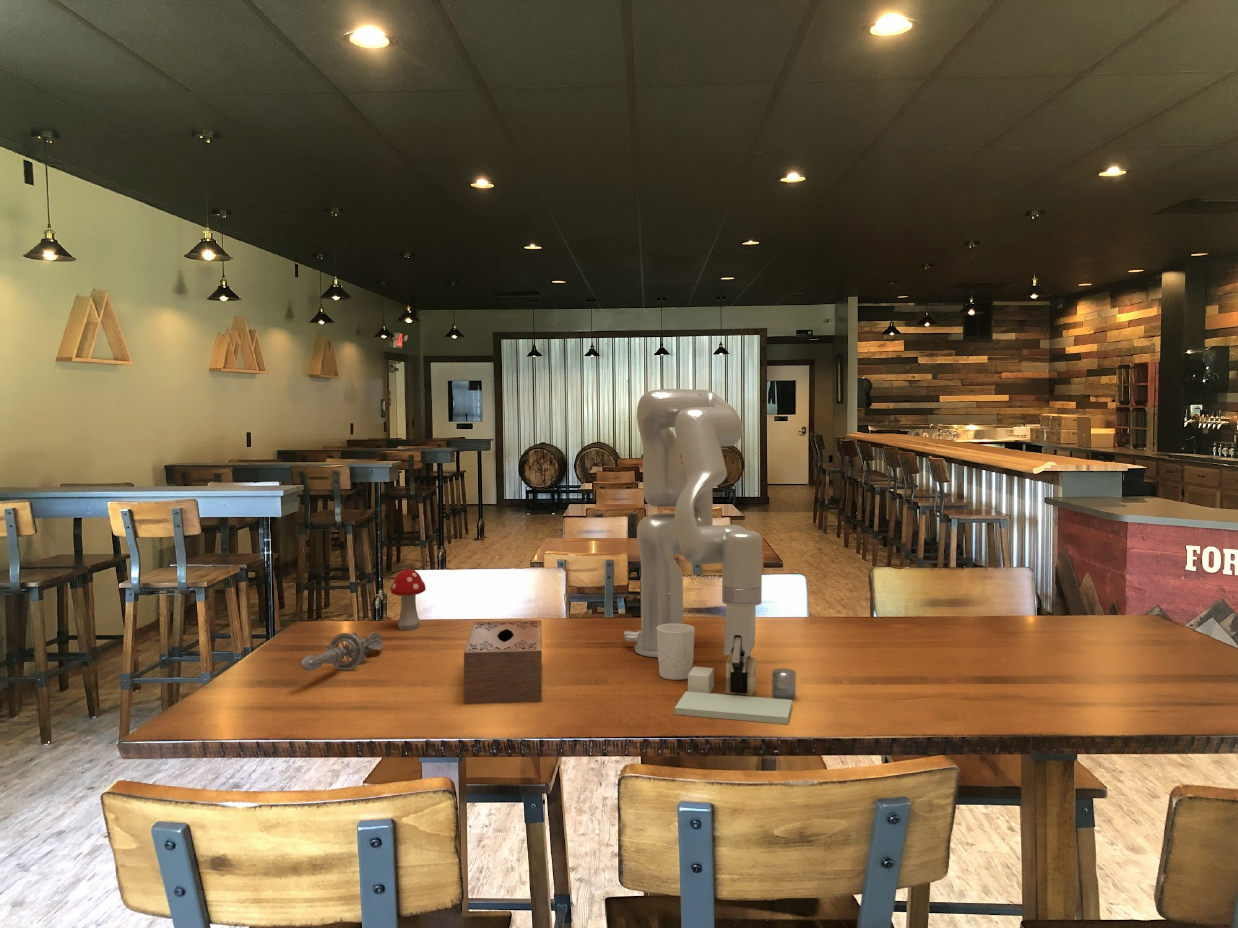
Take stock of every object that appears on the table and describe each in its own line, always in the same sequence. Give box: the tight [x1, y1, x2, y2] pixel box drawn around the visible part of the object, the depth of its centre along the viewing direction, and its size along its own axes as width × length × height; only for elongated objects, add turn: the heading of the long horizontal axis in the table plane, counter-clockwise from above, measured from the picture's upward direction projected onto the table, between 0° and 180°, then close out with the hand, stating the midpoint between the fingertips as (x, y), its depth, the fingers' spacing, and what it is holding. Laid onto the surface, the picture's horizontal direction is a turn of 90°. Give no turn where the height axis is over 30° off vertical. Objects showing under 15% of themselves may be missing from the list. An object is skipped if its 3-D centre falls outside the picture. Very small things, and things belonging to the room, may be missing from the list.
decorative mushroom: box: [390, 568, 426, 631], centre depth 227 cm, size 10×9×15 cm
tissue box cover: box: [463, 619, 543, 705], centre depth 179 cm, size 26×14×10 cm, turn 5°
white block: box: [687, 666, 715, 693], centre depth 174 cm, size 4×6×4 cm, turn 164°
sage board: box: [674, 690, 793, 725], centre depth 162 cm, size 20×10×1 cm, turn 74°
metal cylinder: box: [771, 668, 797, 702], centre depth 169 cm, size 4×4×5 cm
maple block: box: [725, 655, 757, 697], centre depth 172 cm, size 5×5×6 cm
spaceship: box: [300, 631, 384, 672], centre depth 189 cm, size 8×35×8 cm
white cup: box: [657, 623, 695, 681], centre depth 184 cm, size 8×8×10 cm
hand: (740, 686), depth 172 cm, fingers closed on maple block, 4 cm apart
